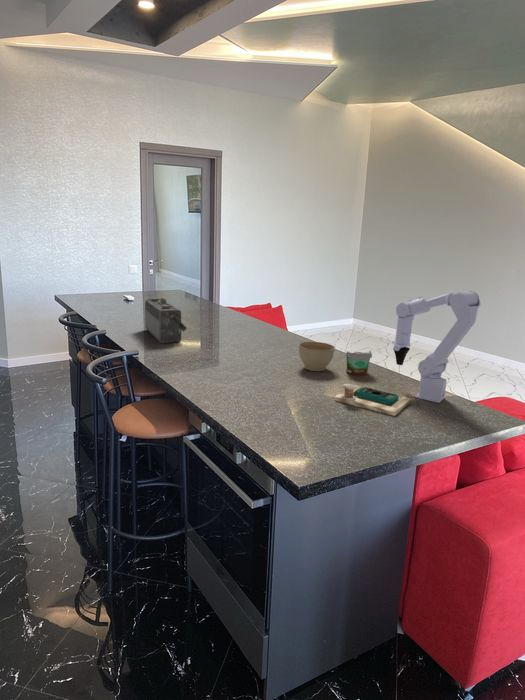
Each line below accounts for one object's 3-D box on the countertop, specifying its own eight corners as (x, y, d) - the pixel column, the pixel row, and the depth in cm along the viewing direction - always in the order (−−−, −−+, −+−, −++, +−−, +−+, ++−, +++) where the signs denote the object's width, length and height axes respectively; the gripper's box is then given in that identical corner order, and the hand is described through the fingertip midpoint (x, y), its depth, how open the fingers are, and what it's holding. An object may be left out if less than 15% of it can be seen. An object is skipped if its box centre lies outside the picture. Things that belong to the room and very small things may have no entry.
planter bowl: (331, 375, 210) (333, 351, 207) (295, 371, 213) (296, 348, 210) (334, 365, 225) (335, 343, 223) (299, 362, 228) (301, 340, 226)
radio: (144, 329, 281) (144, 295, 276) (168, 328, 287) (168, 295, 282) (160, 344, 248) (160, 306, 243) (187, 343, 254) (187, 305, 249)
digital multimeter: (362, 392, 191) (363, 385, 191) (398, 401, 183) (399, 394, 182) (354, 397, 186) (355, 390, 185) (391, 406, 177) (392, 399, 177)
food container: (349, 377, 209) (351, 354, 207) (343, 372, 215) (345, 351, 213) (375, 376, 213) (377, 354, 210) (368, 371, 218) (370, 350, 216)
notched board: (410, 402, 182) (412, 386, 180) (393, 416, 167) (396, 399, 165) (354, 388, 194) (355, 373, 193) (334, 400, 179) (335, 384, 178)
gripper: (399, 328, 202) (395, 359, 205) (387, 333, 190) (384, 366, 194) (416, 330, 198) (412, 362, 202) (405, 336, 186) (401, 369, 190)
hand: (399, 364), depth 197 cm, fingers closed
